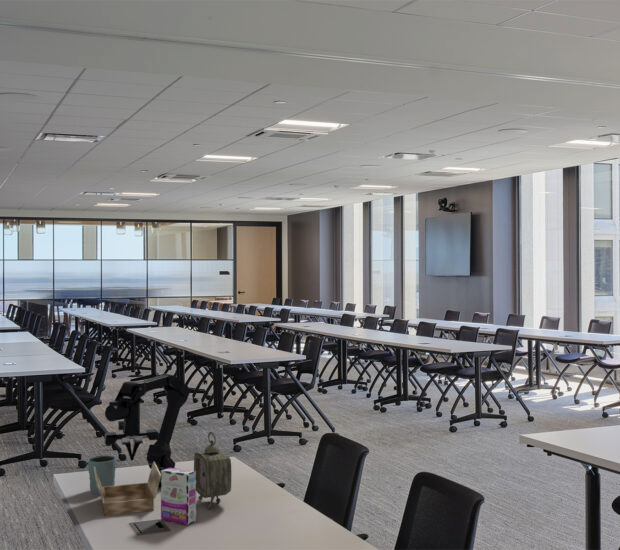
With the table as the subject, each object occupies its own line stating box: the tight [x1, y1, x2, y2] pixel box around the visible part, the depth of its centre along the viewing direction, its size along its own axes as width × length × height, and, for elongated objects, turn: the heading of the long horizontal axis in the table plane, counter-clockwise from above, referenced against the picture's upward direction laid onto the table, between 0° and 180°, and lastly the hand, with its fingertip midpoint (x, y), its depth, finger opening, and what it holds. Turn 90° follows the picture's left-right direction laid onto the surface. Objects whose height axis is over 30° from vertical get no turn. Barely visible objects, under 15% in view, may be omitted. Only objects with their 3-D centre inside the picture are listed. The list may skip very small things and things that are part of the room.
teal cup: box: [87, 455, 117, 495], centre depth 273 cm, size 10×10×12 cm
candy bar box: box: [160, 467, 197, 526], centre depth 240 cm, size 11×5×16 cm, turn 62°
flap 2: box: [146, 461, 161, 500], centre depth 260 cm, size 8×19×1 cm
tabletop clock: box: [193, 431, 232, 510], centre depth 258 cm, size 14×9×25 cm, turn 27°
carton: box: [101, 482, 155, 516], centre depth 257 cm, size 16×20×4 cm
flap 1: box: [94, 467, 105, 505], centre depth 254 cm, size 8×19×1 cm
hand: (131, 460), depth 267 cm, fingers closed
